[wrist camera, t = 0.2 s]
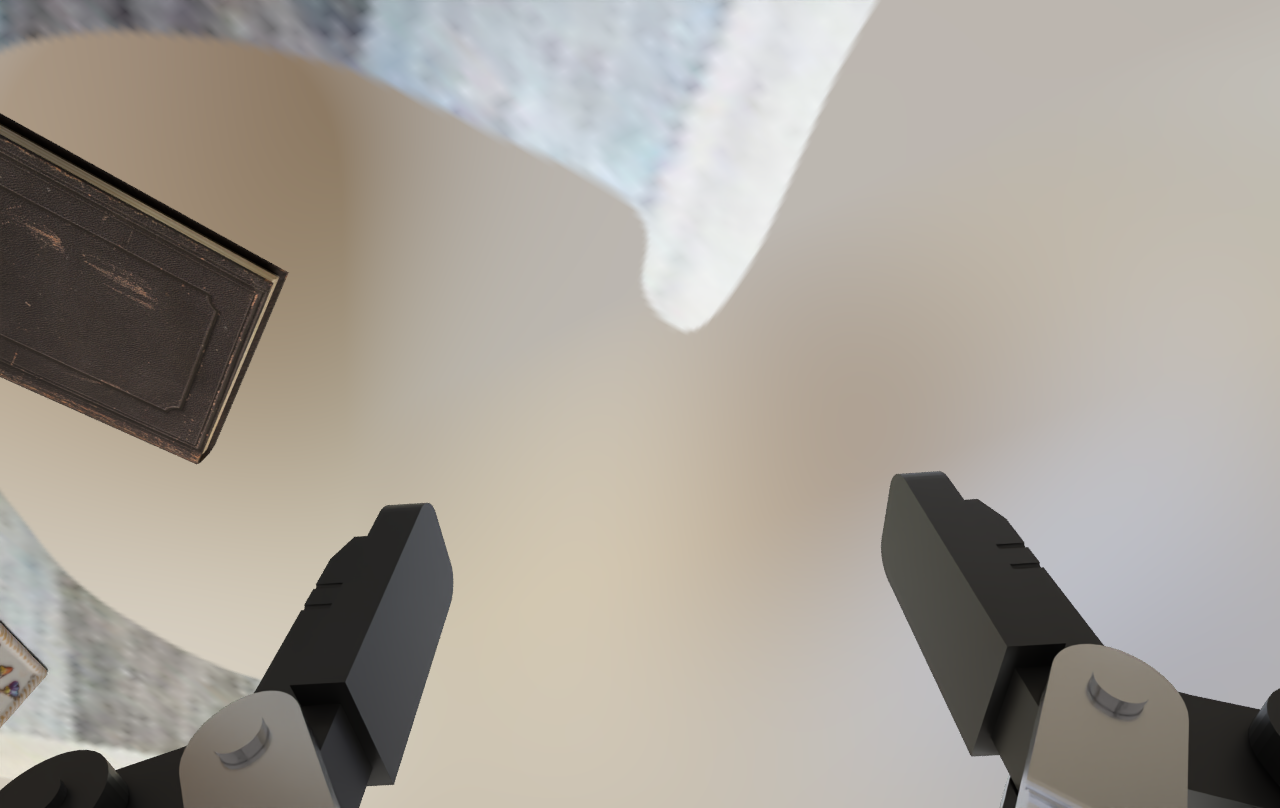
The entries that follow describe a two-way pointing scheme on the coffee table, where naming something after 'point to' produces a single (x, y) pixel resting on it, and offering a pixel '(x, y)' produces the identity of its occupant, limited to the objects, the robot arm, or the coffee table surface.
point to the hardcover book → (122, 299)
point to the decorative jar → (16, 674)
